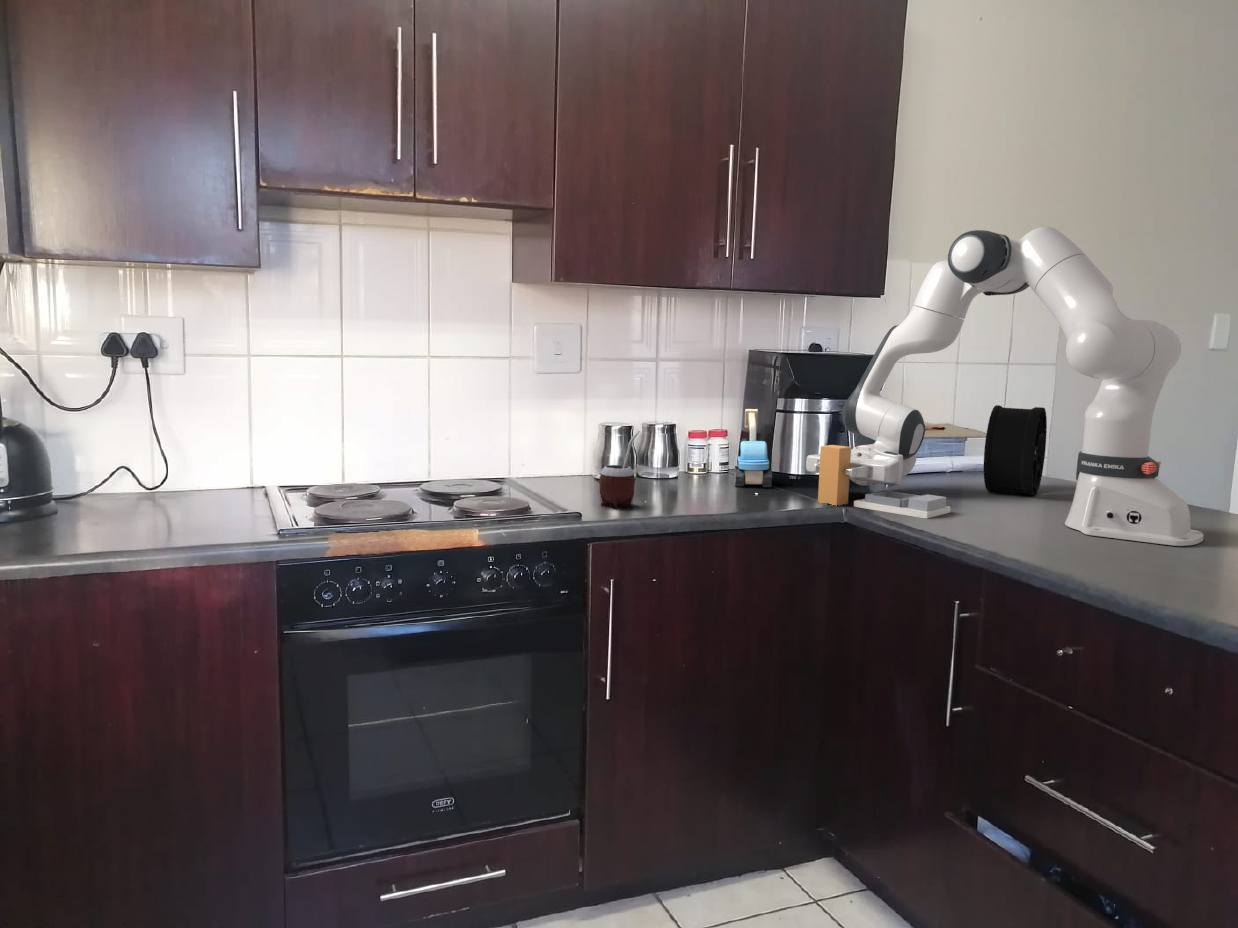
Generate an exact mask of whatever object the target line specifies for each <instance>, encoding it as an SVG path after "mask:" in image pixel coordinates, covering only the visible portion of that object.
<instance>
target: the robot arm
mask: <svg viewBox="0 0 1238 928" xmlns="http://www.w3.org/2000/svg"><path fill="white" fill-rule="evenodd" d="M1029 287H1030V288H1031V290H1032V292H1033V293H1034V294H1035V295H1036V296H1037V298H1039V299H1040V301H1041V303H1043V304H1044V306H1045V307H1046V308H1047V309H1048V311H1049V312H1050V313H1051V315H1052V316H1053V317H1054V319H1055V320H1056V321H1057V323H1058V324H1059V326H1060V328H1061V330H1062V332H1063V334H1064V337H1065V341H1066V345H1065V357H1066V360H1067V362H1068V364H1069V365H1070V367H1071V368H1072V369H1073V370H1074V371H1075V372H1077V373H1079V374H1082V375H1084V376H1086V377H1090V378H1092V379H1095V380H1100V381H1101V380H1102V381H1101V383H1100V386H1099V388H1098V390H1097V393H1096V395H1095V397H1094V399H1093V401H1092V402H1091V403H1089V405H1088V406H1087V408H1086V409H1085V412H1084V417H1083V427H1082V439H1081V450H1080V451H1079V452H1078V453H1077V454H1078V455H1077V459H1076V467H1075V475H1076V477H1075V479H1076V480H1075V481H1076V486H1075V492H1074V495H1073V499H1072V503H1071V506H1070V509H1069V512H1068V515H1067V518H1066V520H1065V522H1064V525H1065V527H1068V528H1071V529H1074V530H1077V531H1079V532H1081V533H1083V534H1085V535H1088V536H1095V537H1101V538H1102V537H1103V538H1113V539H1118V540H1126V541H1127V540H1128V541H1134V542H1143V543H1150V544H1160V545H1166V546H1167V545H1168V546H1173V547H1174V546H1176V547H1185V546H1187V547H1188V546H1194V545H1198V544H1200V543H1202V542H1203V541H1204V533H1203V532H1202V531H1200V530H1196V529H1191V514H1190V512H1191V511H1190V508H1189V505H1188V503H1187V502H1186V501H1185V500H1184V499H1183V498H1181V497H1180V496H1179V495H1178V494H1176V493H1175V492H1174V491H1173V490H1172V489H1170V488H1169V487H1168V486H1167V485H1166V484H1164V483H1163V482H1162V481H1161V480H1160V479H1159V478H1158V477H1159V472H1160V468H1161V464H1162V462H1161V461H1157V460H1155V459H1153V458H1152V457H1150V455H1149V450H1150V449H1149V448H1150V441H1151V433H1152V425H1153V418H1154V413H1155V410H1156V406H1157V404H1158V403H1157V402H1158V399H1159V397H1160V394H1161V391H1162V389H1163V387H1164V384H1165V381H1166V379H1167V377H1168V375H1169V373H1170V371H1171V370H1172V369H1173V368H1174V367H1175V366H1176V364H1177V363H1178V361H1179V359H1180V357H1181V354H1182V344H1181V343H1182V342H1181V340H1180V338H1179V336H1178V334H1177V333H1176V332H1175V331H1174V330H1172V329H1171V328H1169V327H1168V326H1166V325H1164V324H1162V323H1160V322H1156V321H1153V320H1147V319H1146V320H1145V319H1132V318H1130V317H1128V316H1127V315H1125V314H1124V313H1123V311H1121V310H1120V308H1119V305H1118V304H1117V302H1116V301H1115V298H1114V296H1113V295H1114V294H1113V293H1114V286H1113V285H1112V283H1111V281H1109V279H1108V278H1107V276H1106V275H1104V273H1103V272H1101V270H1100V269H1099V268H1098V266H1096V265H1095V264H1094V262H1093V261H1092V260H1091V259H1090V258H1089V257H1088V255H1087V254H1086V253H1084V251H1083V250H1082V249H1081V248H1080V247H1079V246H1078V245H1077V244H1076V243H1074V241H1072V240H1071V239H1070V238H1069V237H1068V236H1066V235H1065V234H1063V233H1062V232H1061V231H1059V230H1057V229H1056V228H1055V227H1051V226H1040V227H1036V228H1033V229H1032V230H1030V231H1029V232H1027V233H1026V234H1025V235H1023V236H1022V237H1021V238H1019V239H1016V240H1013V239H1011V238H1009V237H1008V235H1006V234H1001V233H997V232H993V231H990V230H984V229H983V230H982V229H981V230H979V229H976V230H975V229H974V230H968V231H967V232H963V233H962V234H960V235H959V236H958V237H957V238H955V240H954V241H953V242H952V244H951V246H950V247H949V250H948V253H947V259H945V260H940V261H938V262H935V263H934V264H933V265H932V267H931V268H930V270H929V271H928V272H927V274H926V276H925V278H924V280H923V281H922V283H921V286H920V288H919V290H918V292H917V294H916V296H915V299H914V303H913V305H912V307H911V310H910V311H909V313H908V315H907V316H906V318H904V320H903V321H902V322H901V323H899V324H897V325H896V324H895V325H893V326H892V327H891V328H890V329H889V330H888V331H887V332H886V334H885V336H884V337H883V338H882V340H881V342H880V343H879V345H878V347H877V349H876V350H875V352H874V354H873V355H872V358H871V360H870V361H869V364H868V366H867V367H866V369H865V371H864V373H863V374H862V376H861V378H860V380H859V382H858V384H857V386H856V387H855V389H854V390H853V391H852V393H851V394H850V396H849V397H848V398H847V400H846V402H845V403H844V405H843V408H842V412H841V416H842V420H843V423H844V426H845V427H846V429H847V431H848V432H849V433H851V434H855V435H858V436H862V437H866V438H869V439H871V440H874V441H875V442H874V443H872V444H871V443H870V444H863V445H857V446H854V447H853V448H851V459H850V468H846V473H845V475H846V476H847V477H849V480H851V481H852V482H853V483H854V484H856V485H858V486H862V487H863V486H864V487H865V486H871V485H872V486H876V485H890V486H891V485H893V486H894V485H897V486H898V485H901V484H902V481H903V478H904V477H905V476H906V475H908V474H909V473H910V472H911V471H912V470H913V468H914V467H915V464H916V462H917V453H918V451H919V449H920V448H921V446H922V443H923V441H924V438H925V434H926V426H925V421H924V417H923V415H922V413H921V412H920V410H918V409H915V408H913V407H910V406H909V405H905V404H902V403H901V402H897V401H894V400H891V399H889V398H887V397H883V396H882V395H881V390H882V389H883V387H884V384H885V382H886V381H887V379H888V377H889V376H890V374H891V372H892V370H893V368H894V366H895V364H896V363H897V362H898V361H899V360H900V359H902V358H903V357H906V356H909V355H917V354H918V355H919V354H930V353H935V352H940V351H942V350H944V349H947V348H948V347H949V346H951V345H953V343H955V341H956V340H957V338H958V336H959V334H960V331H961V329H962V327H963V324H964V322H965V318H966V317H967V313H968V310H969V308H970V306H971V303H972V302H973V299H974V298H976V296H979V294H981V293H982V294H984V295H985V296H1008V295H1014V294H1018V293H1021V292H1023V291H1025V290H1027V289H1028V288H1029ZM805 469H806V471H807V472H809V473H816V474H819V470H820V453H817V454H809V455H807V456H806V460H805Z"/></svg>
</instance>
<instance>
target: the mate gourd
mask: <svg viewBox="0 0 1238 928" xmlns="http://www.w3.org/2000/svg"><path fill="white" fill-rule="evenodd" d="M640 432H641V431H640V430H639V429H638V430H637V431H636V432H635V433H634V435H632V437H631V439H630V440H629V441H628V444H627V451H626V454H625V458H624V462H623V465H620V464H612V465H611V464H610V465H605V466H604V467H603V468H602V469H601V472H600V475H599V480H598V483H599V484H598V485H599V495H600V499H601V503H600V506H601V507H612V509H613V510H618V508H632V507H633V504H632V501H633V499H634V498H633V497H634V496H635V495H634V494H635V485H636V484H635V482H636V481H635V473H634V470H633V469H632V467H631V466H628V465H627V464H628V460H629V456H630V451H631V449H632V446H633V442H634V441H635V438H636V437H637V436H638V435H639V433H640Z"/></svg>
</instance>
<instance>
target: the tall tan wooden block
mask: <svg viewBox="0 0 1238 928" xmlns="http://www.w3.org/2000/svg"><path fill="white" fill-rule="evenodd" d="M851 450H852V447H851V446H846V445H836V444H829V445H821V446H820V451H819V452H820V453H819V454H820V470H819V473H818V491H817V492H818V493H817V503H818V502H819V503H818V504H821V503H829V504H832V505H831V506H833V505H836V506H835V507H838V506H844V505H848V503H849V493H850V478H849V477H847V476H846V475H845V473H846V468H850V459H851ZM843 504H844V505H843ZM837 505H838V506H837Z"/></svg>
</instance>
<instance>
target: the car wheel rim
mask: <svg viewBox="0 0 1238 928" xmlns="http://www.w3.org/2000/svg"><path fill="white" fill-rule="evenodd" d="M1046 411H1047V410H1046V408H1045V407H1040V406H1035V407H1032V408H1019V407H1018V408H1017V407H1016V408H1015V407H1014V408H1013V407H1003V405H998V404H996V405H994V406H993V408H992V410H991V412H990V415H989V419H988V424H987V428H986V429H987V430H986V434H985V441H984V442H985V443H984V450H983V451H984V452H983V453H984V454H983V481H984V486H985V490H986V491H988V492H989V491H994V490H998V491H999V490H1000V491H1009V492H1020V493H1023V494H1025V495H1026V496H1036V495H1038V492H1039V489H1040V486H1041V481H1042V476H1043V471H1044V464H1045V457H1046V446H1047V432H1048V431H1047V428H1048V427H1047V426H1048V425H1047V424H1048V423H1047V419H1048V418H1047V412H1046Z"/></svg>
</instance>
